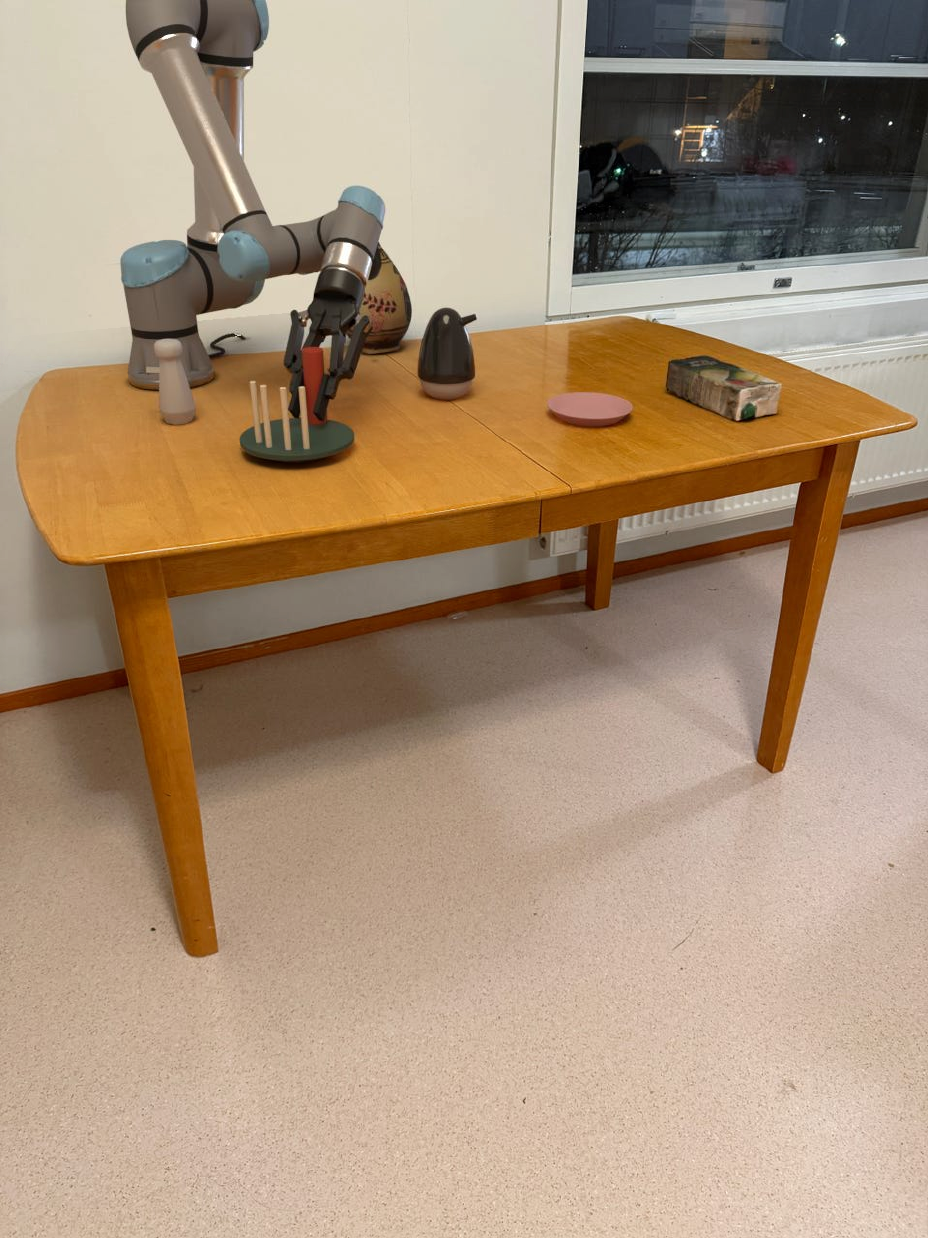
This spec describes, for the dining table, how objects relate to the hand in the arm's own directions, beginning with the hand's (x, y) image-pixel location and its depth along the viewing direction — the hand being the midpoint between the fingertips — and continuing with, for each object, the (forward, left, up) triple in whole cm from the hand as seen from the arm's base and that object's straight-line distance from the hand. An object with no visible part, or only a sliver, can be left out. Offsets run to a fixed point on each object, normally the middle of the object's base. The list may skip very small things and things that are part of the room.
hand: (305, 415), depth 139 cm
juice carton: (-6, +72, -5) cm, 73 cm away
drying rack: (+3, -2, -5) cm, 6 cm away
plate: (-4, +47, -5) cm, 48 cm away
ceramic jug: (-54, +18, -5) cm, 58 cm away
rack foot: (+3, -2, -5) cm, 6 cm away
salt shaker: (-15, -20, -5) cm, 25 cm away
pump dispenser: (-20, +26, -5) cm, 34 cm away
